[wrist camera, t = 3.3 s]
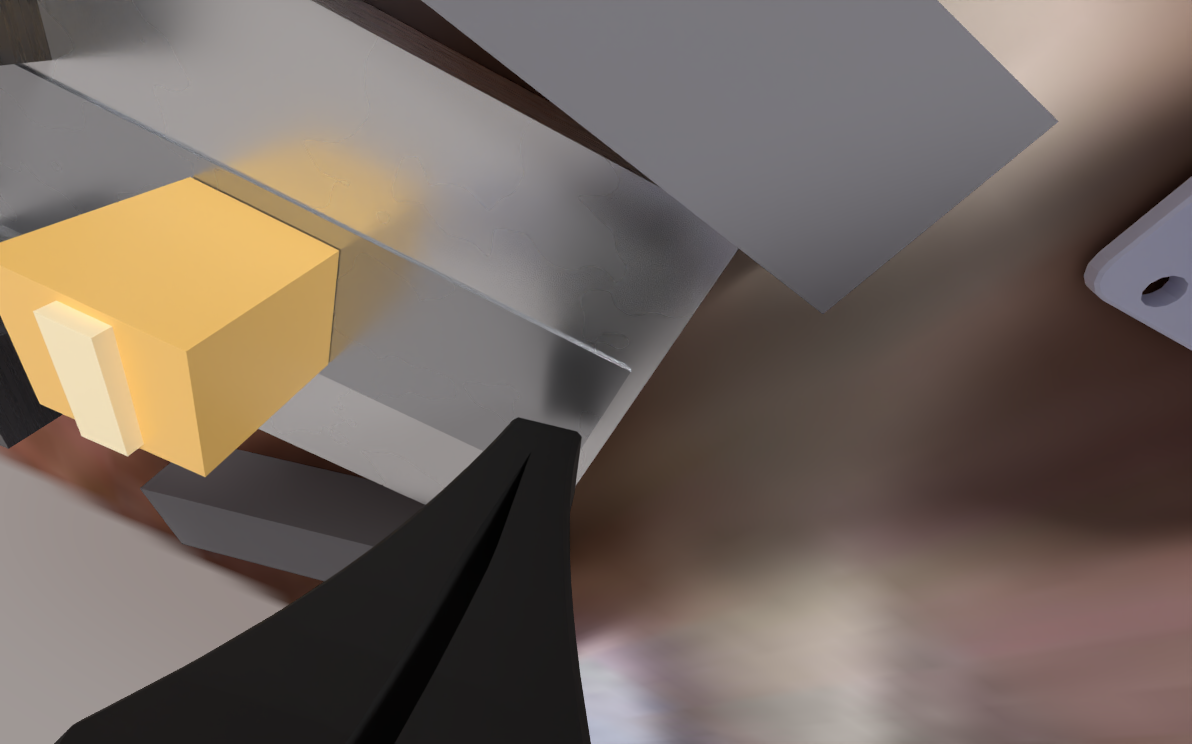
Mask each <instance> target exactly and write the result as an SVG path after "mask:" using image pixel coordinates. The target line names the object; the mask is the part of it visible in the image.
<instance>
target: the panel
mask: <svg viewBox="0 0 1192 744" xmlns="http://www.w3.org/2000/svg"><path fill="white" fill-rule="evenodd" d="M189 177H191V178H193V179H195V180H197V181H199V182H201V183H203V184H205V185H207V186H209V187H212V188H214V189H216V190H218V191H220V192H222V193H224V194H226V195H228V196H230V197H232V198H234V199H236V200H238V201H240V202H242V203H244V204H246V205H248V206H250V207H252V208H254V209H256V210H258V211H260V212H262V213H264V214H266V215H268V216H270V217H272V218H274V219H276V220H278V221H280V222H282V223H284V224H286V225H288V226H290V227H292V228H294V229H296V230H299V231H301V232H303V233H305V234H307V235H309V236H311V237H313V238H315V239H317V240H319V241H321V242H323V243H325V244H327V245H329V246H331V247H333V248H335V249H337V250H339V259H338V269H337V279H336V290H335V300H334V310H333V320H332V331H331V341H330V351H329V361H328V365H327V366H326V367H325V368H324V369H323V370H321V371H320V372H319V373H318V374H317V375H316V376H315V377H314V378H313V379H312V380H311V381H310V382H308V383H307V384H306V385H305V386H304V387H303V388H302V389H301V390H300V391H299V392H298V393H296V394H295V395H294V396H293V397H292V398H291V399H290V400H289V401H288V402H287V403H286V404H284V405H283V406H282V407H281V408H280V409H279V410H278V411H277V412H276V413H275V414H274V415H272V416H271V417H270V418H269V419H268V420H267V421H266V422H265V423H264V424H263V425H262V426H260V427H259V428H258V429H260V430H262V431H264V432H267V433H269V434H271V435H273V436H275V437H277V438H280V439H282V440H284V441H286V442H288V443H291V444H293V445H295V446H297V447H299V448H302V449H304V450H306V451H308V452H310V453H313V454H315V455H317V456H319V457H321V458H324V459H326V460H328V461H330V462H332V463H335V464H337V465H339V466H341V467H343V468H345V469H348V470H350V471H352V472H354V473H356V474H359V475H361V476H363V477H365V478H367V479H370V480H372V481H374V482H376V483H378V484H381V485H383V486H385V487H387V488H389V489H392V490H394V491H396V492H398V493H400V494H403V495H405V496H407V497H409V498H411V499H413V500H416V501H418V502H420V503H422V504H424V505H426V504H427V503H428V502H429V501H430V500H432V499H433V498H434V497H435V496H436V495H437V494H439V493H440V492H441V491H442V490H443V489H444V488H445V487H446V486H447V485H448V484H449V483H451V482H452V481H453V480H454V479H455V478H456V477H457V476H458V475H459V474H460V473H461V472H462V471H463V470H465V469H466V468H467V467H468V466H469V465H470V464H471V463H472V462H473V461H474V460H475V459H476V458H477V457H478V456H479V455H480V454H481V453H482V452H483V451H484V450H485V449H486V448H487V447H488V446H489V445H490V444H491V443H492V442H493V441H494V440H495V439H496V438H497V437H498V436H499V434H500V433H501V432H502V431H503V430H504V429H505V428H506V427H507V426H508V425H509V424H510V422H511V421H512V420H514V419H516V418H518V417H520V418H524V419H528V420H532V421H536V422H540V423H545V424H549V425H553V426H557V427H561V428H565V429H570V430H574V431H577V432H578V433H579V434H580V435H581V436H582V440H581V448H580V455H579V463H578V470H577V478H576V485H577V483H578V482H579V480H580V479H581V477H582V476H583V474H584V473H585V471H586V470H587V468H588V467H589V466H590V464H591V463H592V461H593V460H594V458H595V457H596V455H597V454H598V452H599V451H600V450H601V448H602V447H603V445H604V444H605V442H606V441H607V439H608V438H609V436H610V435H611V434H612V432H613V431H614V429H615V428H616V426H617V425H618V423H619V422H620V420H621V419H622V418H623V416H624V415H625V413H626V412H627V410H628V409H629V407H630V406H631V404H632V403H633V402H634V400H635V399H636V397H637V396H638V394H639V393H640V391H641V390H642V388H643V387H644V385H645V384H646V383H647V381H648V380H649V378H650V377H651V375H652V374H653V372H654V371H655V369H656V368H657V367H658V365H659V364H660V362H661V361H662V359H663V358H664V356H665V355H666V353H667V352H668V351H669V349H670V348H671V346H672V345H673V343H674V342H675V340H676V339H677V337H678V336H679V335H680V333H681V332H682V330H683V329H684V327H685V326H686V324H687V323H688V321H689V320H690V318H691V317H692V316H693V314H694V313H695V311H696V310H697V308H698V307H699V305H700V304H701V302H702V301H703V300H704V298H705V297H706V295H707V294H708V292H709V291H710V289H711V288H712V286H713V285H714V284H715V282H716V281H717V279H718V278H719V276H720V275H721V273H722V272H723V270H724V269H725V268H726V266H727V265H728V263H729V262H730V260H731V259H732V257H733V256H734V254H735V253H736V251H737V250H738V249H739V248H738V247H736V246H735V245H734V244H732V243H731V242H730V241H729V240H727V239H726V238H725V237H723V236H722V235H721V234H720V233H718V232H717V231H716V230H714V229H713V228H712V227H711V226H709V225H708V224H707V223H706V222H704V221H703V220H702V219H700V218H699V217H698V216H697V215H695V214H694V213H693V212H691V211H690V210H689V209H688V208H686V207H685V206H684V205H683V204H681V203H680V202H679V201H677V200H676V199H675V198H674V197H672V196H671V195H670V194H668V193H667V192H666V191H665V190H663V189H662V188H661V187H659V186H658V185H657V184H656V183H654V182H653V181H652V180H651V179H649V178H648V177H647V176H645V175H644V174H643V173H642V172H640V171H639V170H638V169H636V168H635V167H634V166H633V165H631V164H630V163H629V162H628V161H626V160H625V159H624V158H622V157H621V156H620V155H619V154H617V153H616V152H615V151H613V150H612V149H611V148H610V147H608V146H607V145H606V144H604V143H603V142H602V141H601V140H599V139H598V138H597V137H596V136H594V135H593V134H592V133H590V132H589V131H588V130H587V129H585V128H584V127H583V126H581V125H580V124H579V123H578V122H576V121H575V120H574V119H572V118H571V117H570V116H569V115H567V114H566V113H565V112H564V111H562V110H561V109H560V108H558V107H557V106H556V105H554V104H552V103H550V102H548V101H547V100H545V99H543V98H541V97H539V96H537V95H535V94H534V93H532V92H530V91H528V90H526V89H524V88H523V87H521V86H519V85H517V84H515V83H513V82H511V81H510V80H508V79H506V78H504V77H502V76H500V75H499V74H497V73H495V72H493V71H491V70H489V69H487V68H486V67H484V66H482V65H480V64H478V63H476V62H475V61H473V60H471V59H469V58H467V57H465V56H463V55H462V54H460V53H458V52H456V51H454V50H452V49H450V48H449V47H447V46H445V45H443V44H441V43H439V42H438V41H436V40H434V39H432V38H430V37H428V36H426V35H425V34H423V33H421V32H419V31H417V30H415V29H414V28H412V27H410V26H408V25H406V24H404V23H402V22H401V21H399V20H397V19H395V18H393V17H391V16H389V15H388V14H386V13H384V12H382V11H380V10H378V9H377V8H375V7H373V6H371V5H369V4H367V3H365V2H364V1H362V0H0V242H3V241H6V240H9V239H12V238H14V237H17V236H20V235H23V234H26V233H29V232H32V231H35V230H38V229H41V228H43V227H46V226H49V225H52V224H55V223H58V222H61V221H64V220H67V219H70V218H72V217H75V216H78V215H81V214H84V213H87V212H90V211H93V210H96V209H99V208H102V207H104V206H107V205H110V204H113V203H116V202H119V201H122V200H125V199H128V198H131V197H133V196H136V195H139V194H142V193H145V192H148V191H151V190H154V189H157V188H160V187H163V186H165V185H168V184H171V183H174V182H177V181H180V180H183V179H186V178H189ZM61 415H63V414H62V413H59V412H57V411H55V410H53V409H50V408H48V407H46V406H43V405H41V404H40V403H39V401H38V399H37V396H36V394H35V392H34V390H33V388H32V385H31V383H30V381H29V379H28V376H27V374H26V372H25V370H24V367H23V365H22V363H21V361H20V358H19V356H18V354H17V352H16V350H15V347H14V345H13V343H12V341H11V338H10V336H9V334H8V332H7V329H6V327H5V325H4V323H3V320H2V318H1V316H0V445H1V446H3V447H6V448H8V449H9V448H10V447H12V446H14V445H15V444H17V443H18V442H20V441H21V440H23V439H25V438H26V437H28V436H29V435H31V434H33V433H34V432H36V431H37V430H39V429H40V428H42V427H44V426H45V425H47V424H48V423H50V422H52V421H53V420H55V419H56V418H58V417H59V416H61Z"/></svg>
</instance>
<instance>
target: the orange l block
mask: <svg viewBox="0 0 1192 744" xmlns="http://www.w3.org/2000/svg"><path fill="white" fill-rule="evenodd" d="M338 259H339V250H337V249H335V248H333V247H331V246H329V245H327V244H325V243H323V242H321V241H319V240H317V239H315V238H313V237H311V236H309V235H307V234H305V233H303V232H301V231H299V230H296V229H294V228H292V227H290V226H288V225H286V224H284V223H282V222H280V221H278V220H276V219H274V218H272V217H270V216H268V215H266V214H264V213H262V212H260V211H258V210H256V209H254V208H252V207H250V206H248V205H246V204H244V203H242V202H240V201H238V200H236V199H234V198H232V197H230V196H228V195H226V194H224V193H222V192H220V191H218V190H216V189H214V188H212V187H209V186H207V185H205V184H203V183H201V182H199V181H197V180H195V179H193V178H191V177H189V178H186V179H183V180H180V181H177V182H174V183H171V184H168V185H165V186H163V187H160V188H157V189H154V190H151V191H148V192H145V193H142V194H139V195H136V196H133V197H131V198H128V199H125V200H122V201H119V202H116V203H113V204H110V205H107V206H104V207H102V208H99V209H96V210H93V211H90V212H87V213H84V214H81V215H78V216H75V217H72V218H70V219H67V220H64V221H61V222H58V223H55V224H52V225H49V226H46V227H43V228H41V229H38V230H35V231H32V232H29V233H26V234H23V235H20V236H17V237H14V238H12V239H9V240H6V241H3V242H0V316H1V318H2V320H3V323H4V325H5V327H6V329H7V332H8V334H9V336H10V338H11V341H12V343H13V345H14V347H15V350H16V352H17V354H18V356H19V358H20V361H21V363H22V365H23V367H24V370H25V372H26V374H27V376H28V379H29V381H30V383H31V385H32V388H33V390H34V392H35V394H36V396H37V399H38V401H39V403H40V404H41V405H43V406H46V407H48V408H50V409H53V410H55V411H57V412H59V413H62V414H64V415H66V416H68V417H71V418H73V419H75V420H76V423H77V425H78V428H79V430H80V433H81V436H83V437H85V438H87V439H89V440H92V441H94V442H96V443H98V444H101V445H103V446H105V447H107V448H110V449H112V450H114V451H117V452H119V453H121V454H123V455H126V456H129V455H130V454H132V453H133V452H134V451H136V450H137V449H138V448H140V449H143V450H145V451H147V452H150V453H152V454H154V455H156V456H159V457H161V458H163V459H165V460H168V461H170V462H172V463H174V464H177V465H179V466H181V467H183V468H186V469H188V470H190V471H192V472H195V473H197V474H199V475H201V476H204V477H206V476H207V475H208V474H209V473H210V472H211V471H213V470H214V469H215V468H216V467H217V466H218V465H219V464H220V463H221V462H222V461H223V460H225V459H226V458H227V457H228V456H229V455H230V454H231V453H232V452H233V451H234V450H235V449H237V448H238V447H239V446H240V445H241V444H242V443H243V442H244V441H245V440H246V439H247V438H249V437H250V436H251V435H252V434H253V433H254V432H255V431H256V430H257V429H258V428H259V427H260V426H262V425H263V424H264V423H265V422H266V421H267V420H268V419H269V418H270V417H271V416H272V415H274V414H275V413H276V412H277V411H278V410H279V409H280V408H281V407H282V406H283V405H284V404H286V403H287V402H288V401H289V400H290V399H291V398H292V397H293V396H294V395H295V394H296V393H298V392H299V391H300V390H301V389H302V388H303V387H304V386H305V385H306V384H307V383H308V382H310V381H311V380H312V379H313V378H314V377H315V376H316V375H317V374H318V373H319V372H320V371H321V370H323V369H324V368H325V367H326V366H327V365H328V361H329V351H330V341H331V331H332V320H333V310H334V300H335V290H336V279H337V269H338Z"/></svg>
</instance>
